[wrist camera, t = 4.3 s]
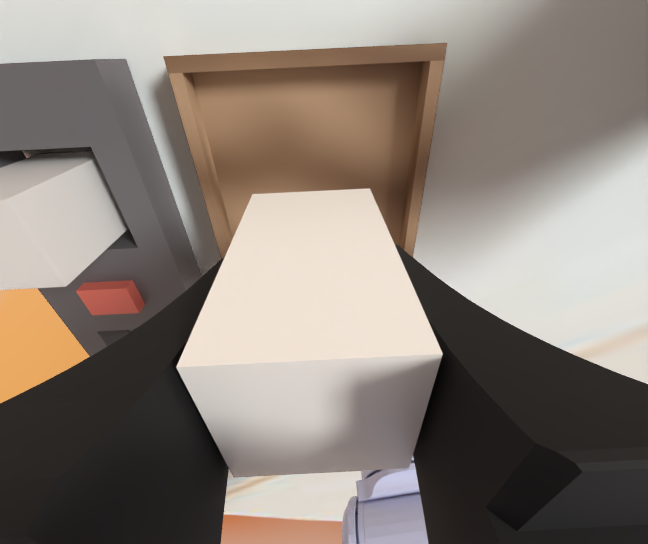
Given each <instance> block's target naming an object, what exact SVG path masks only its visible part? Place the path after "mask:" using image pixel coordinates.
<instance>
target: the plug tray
mask: <svg viewBox="0 0 648 544" xmlns="http://www.w3.org/2000/svg"><path fill="white" fill-rule="evenodd" d="M446 47H447V43H436V44H415V45H394V46H373V47H352V48H331V49H310V50H289V51H268V52H247V53H226V54H205V55H184V56H163V57H164V60H165V64H166V67H167V71H168V74H169V78H170V81H171V85H172V88H173V92H174V95H175V99H176V102H177V106H178V109H179V113H180V116H181V120H182V123H183V127H184V130H185V134H186V137H187V141H188V144H189V147H190V151H191V154H192V158H193V161H194V165H195V168H196V172H197V175H198V179H199V182H200V186H201V189H202V193H203V196H204V200H205V203H206V207H207V210H208V214H209V217H210V221H211V224H212V228H213V231H214V235H215V238H216V242H217V245H218V249H219V252H220V256H221V259H223V258H224V257H225V255H226V253H227V251H228V249H229V246H230V244H231V242H232V240H233V237H234V235H235V233H236V230H237V228H238V226H239V224H240V221H241V219H242V217H243V215H244V212H245V210H246V208H247V205H248V203H249V201H250V199H251V196H252V194H267V193H287V192H307V191H327V190H348V189H368V188H370V190H371V192H372V194H373V197H374V199H375V201H376V203H377V206H378V208H379V210H380V212H381V215H382V217H383V219H384V222H385V224H386V226H387V228H388V231H389V233H390V235H391V237H392V240H393V242H394V244H397V245H398V246H400V247H401V248H402V249H403V250H404V251H406V252H407V253H408V254H409V255H410V256H412V257H413V253H414V246H415V240H416V234H417V228H418V222H419V215H420V209H421V203H422V197H423V190H424V184H425V178H426V172H427V166H428V159H429V153H430V147H431V141H432V134H433V128H434V122H435V116H436V109H437V103H438V97H439V91H440V85H441V78H442V72H443V66H444V60H445V53H446Z"/></svg>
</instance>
